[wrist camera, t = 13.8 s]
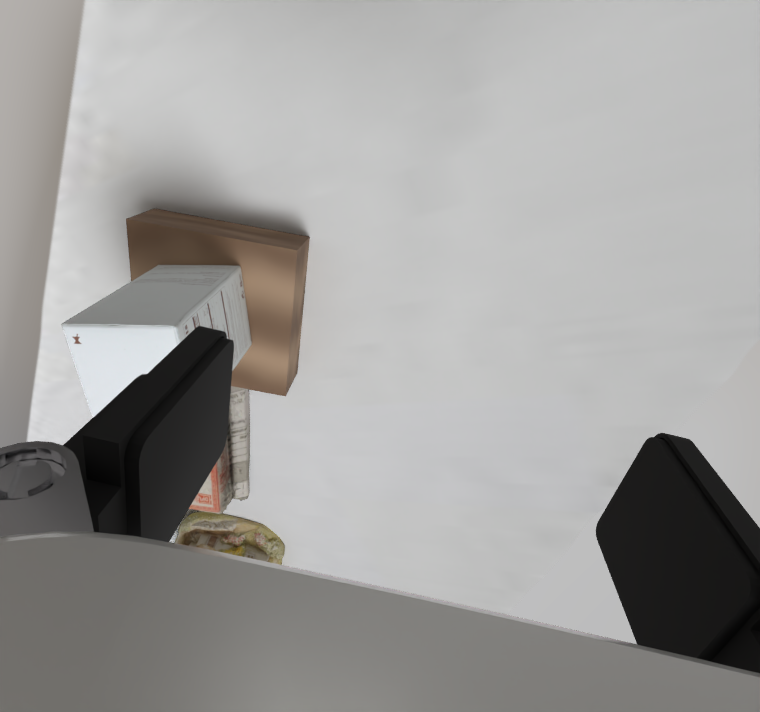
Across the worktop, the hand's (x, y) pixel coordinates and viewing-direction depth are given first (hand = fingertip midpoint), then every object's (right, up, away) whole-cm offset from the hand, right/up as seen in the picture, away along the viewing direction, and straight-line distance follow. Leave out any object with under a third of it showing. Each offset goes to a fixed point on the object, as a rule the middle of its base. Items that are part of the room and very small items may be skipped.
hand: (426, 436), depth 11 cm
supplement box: (-16, +6, +31) cm, 36 cm away
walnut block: (-15, +8, +36) cm, 40 cm away
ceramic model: (-19, -22, +51) cm, 59 cm away
